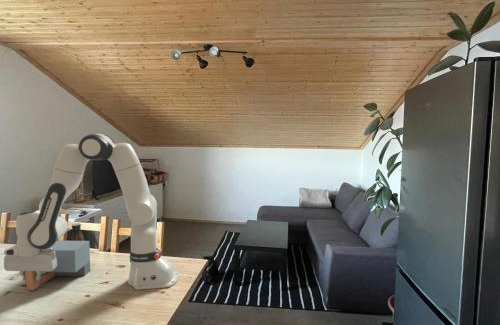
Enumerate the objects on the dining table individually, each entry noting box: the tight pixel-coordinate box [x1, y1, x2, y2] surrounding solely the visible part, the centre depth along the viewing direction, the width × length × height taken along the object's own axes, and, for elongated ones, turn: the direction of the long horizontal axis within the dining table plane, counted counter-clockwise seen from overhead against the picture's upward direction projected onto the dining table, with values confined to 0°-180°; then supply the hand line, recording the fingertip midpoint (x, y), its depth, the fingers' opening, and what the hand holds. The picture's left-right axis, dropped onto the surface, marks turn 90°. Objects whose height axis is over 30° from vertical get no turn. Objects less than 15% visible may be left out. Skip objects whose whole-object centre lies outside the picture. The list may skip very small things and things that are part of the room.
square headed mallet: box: [25, 271, 55, 291], centre depth 130 cm, size 3×12×9 cm, turn 172°
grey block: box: [42, 240, 91, 277], centre depth 137 cm, size 18×12×15 cm, turn 90°
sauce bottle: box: [69, 222, 85, 241], centre depth 154 cm, size 7×6×20 cm
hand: (31, 280), depth 126 cm, fingers closed on square headed mallet, 3 cm apart
